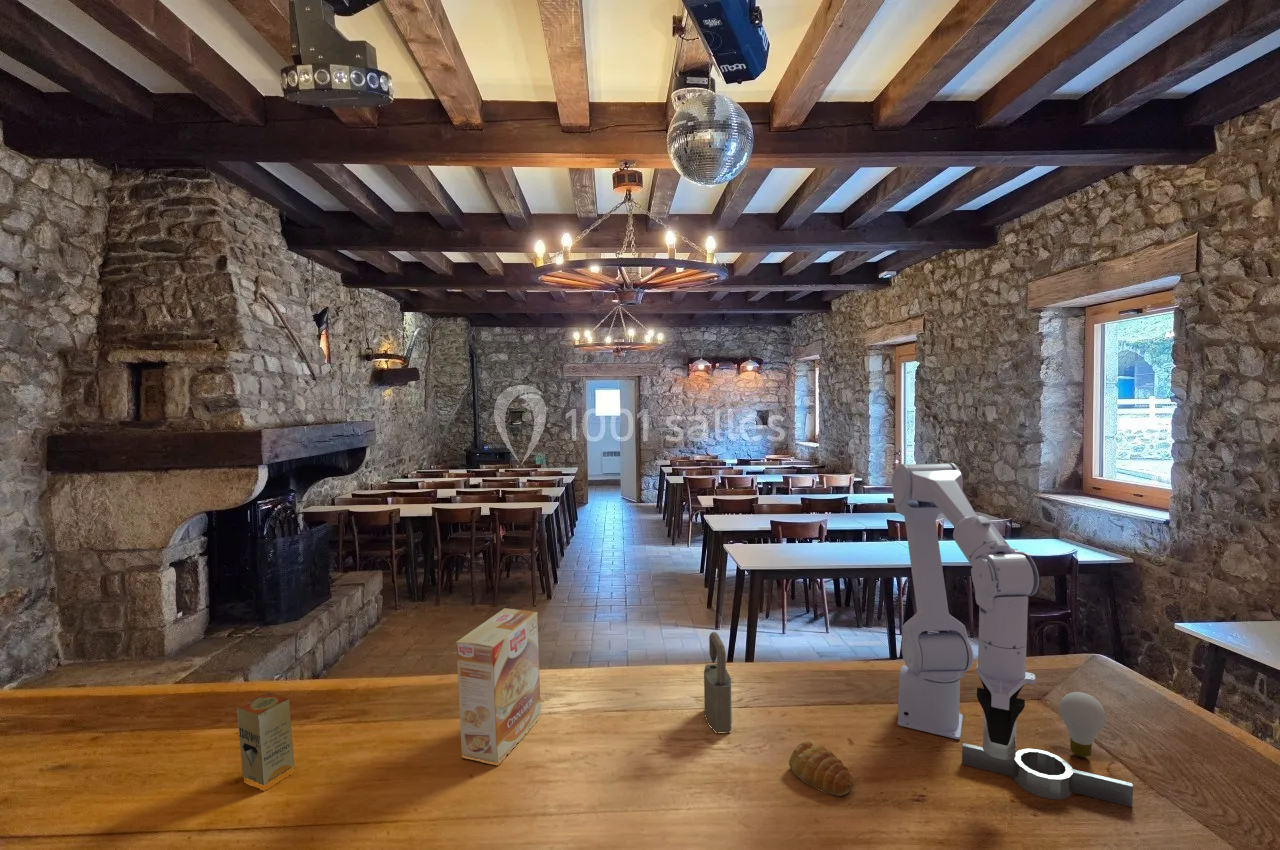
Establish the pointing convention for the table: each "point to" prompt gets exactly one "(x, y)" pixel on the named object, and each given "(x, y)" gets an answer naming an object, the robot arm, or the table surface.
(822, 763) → the pastry
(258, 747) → the shoe polish box
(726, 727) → the padlock
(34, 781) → the table surface
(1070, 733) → the light bulb
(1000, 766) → the hinge
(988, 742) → the hinge pin
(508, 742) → the coffeecake box
